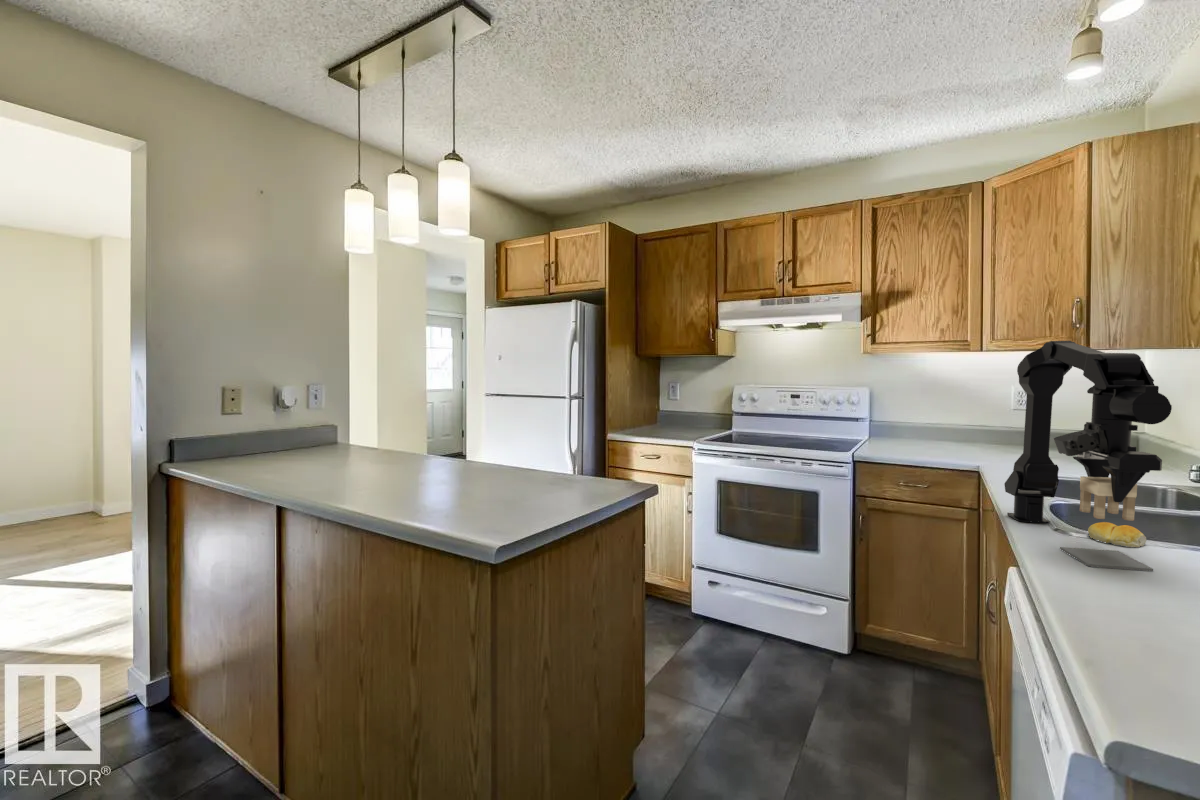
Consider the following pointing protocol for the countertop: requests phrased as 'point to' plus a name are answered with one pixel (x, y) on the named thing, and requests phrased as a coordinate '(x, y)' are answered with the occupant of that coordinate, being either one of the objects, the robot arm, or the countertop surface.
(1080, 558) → the mat
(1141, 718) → the countertop surface
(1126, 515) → the stool
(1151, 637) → the countertop surface
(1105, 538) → the bread roll
